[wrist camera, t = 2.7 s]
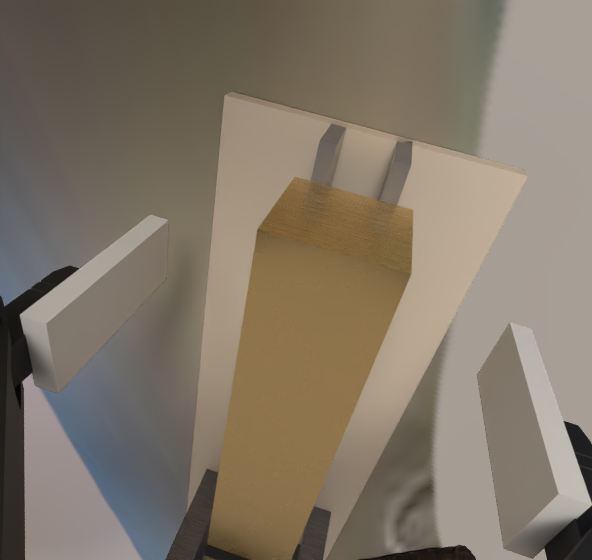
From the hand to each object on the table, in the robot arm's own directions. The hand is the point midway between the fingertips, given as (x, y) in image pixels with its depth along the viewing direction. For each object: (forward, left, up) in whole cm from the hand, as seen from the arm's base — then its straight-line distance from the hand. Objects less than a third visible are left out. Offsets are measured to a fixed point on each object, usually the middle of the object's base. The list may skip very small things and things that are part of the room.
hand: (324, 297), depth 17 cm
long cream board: (+15, 0, -5) cm, 15 cm away
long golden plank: (+7, 0, -1) cm, 7 cm away
